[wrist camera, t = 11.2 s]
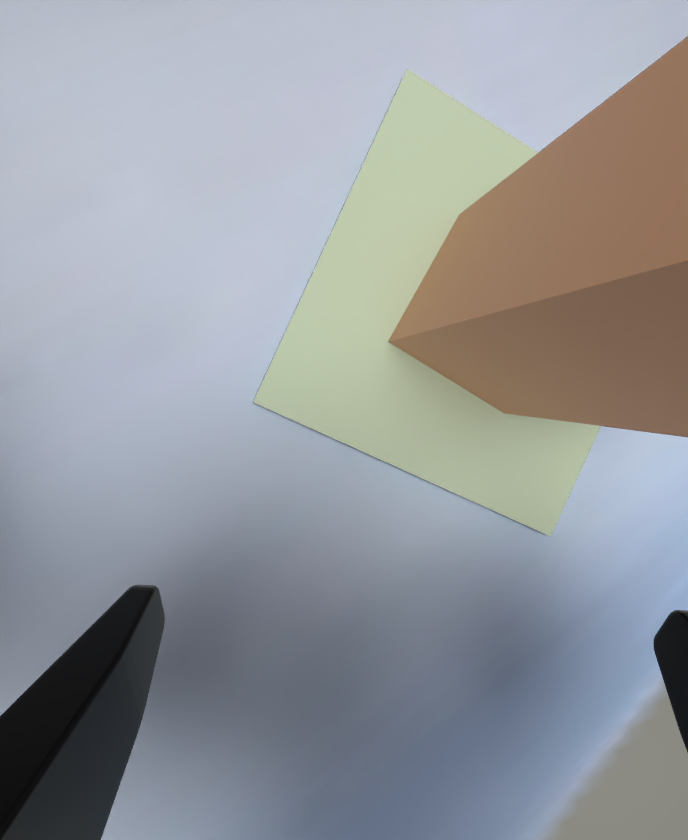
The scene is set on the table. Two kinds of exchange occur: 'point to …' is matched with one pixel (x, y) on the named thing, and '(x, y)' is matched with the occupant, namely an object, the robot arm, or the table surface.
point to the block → (575, 272)
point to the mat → (386, 303)
